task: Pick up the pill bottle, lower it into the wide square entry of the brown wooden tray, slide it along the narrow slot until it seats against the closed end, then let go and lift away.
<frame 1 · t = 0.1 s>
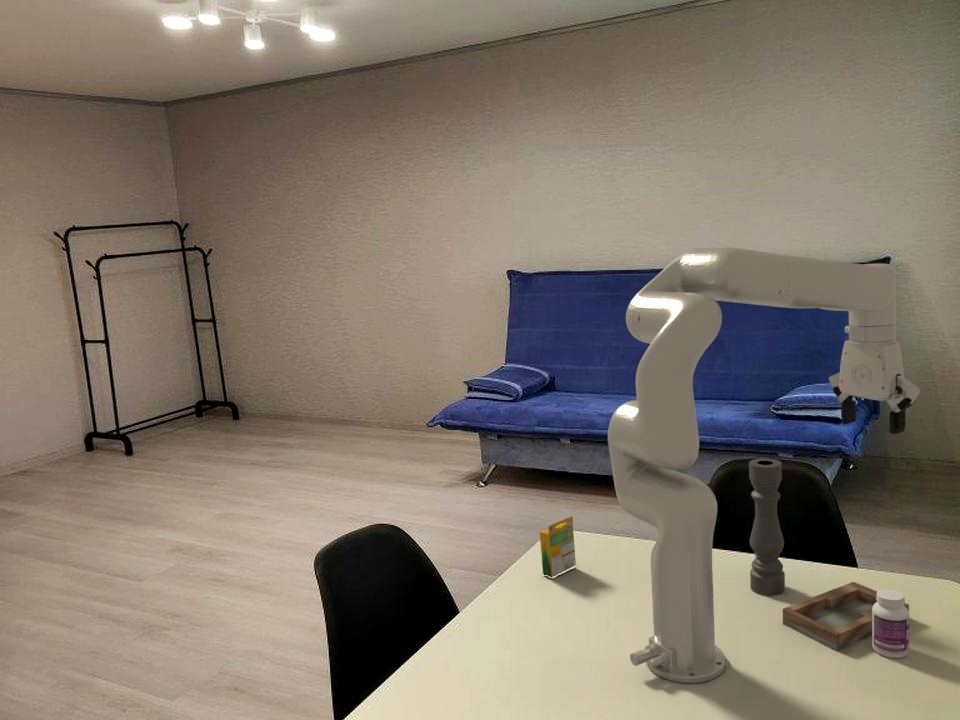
hand: (872, 427, 143), 31 cm above the table, tool pointing down, fingers open, 9 cm apart
pill bottle: (890, 651, 127), on the table
brown wooden tray: (845, 621, 137), on the table
candle holder: (767, 589, 151), on the table
crayon box: (559, 572, 165), on the table
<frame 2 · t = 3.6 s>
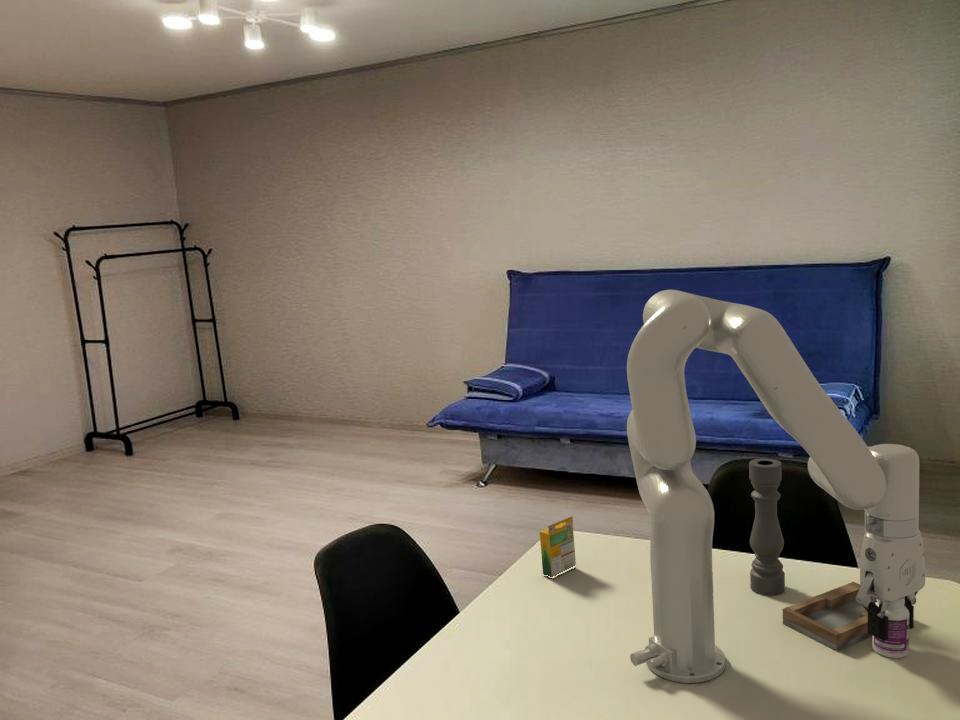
hand: (890, 630, 126), 4 cm above the table, tool pointing down, fingers closed on pill bottle, 5 cm apart
pill bottle: (890, 651, 127), on the table, touching gripper
everything else where it was.
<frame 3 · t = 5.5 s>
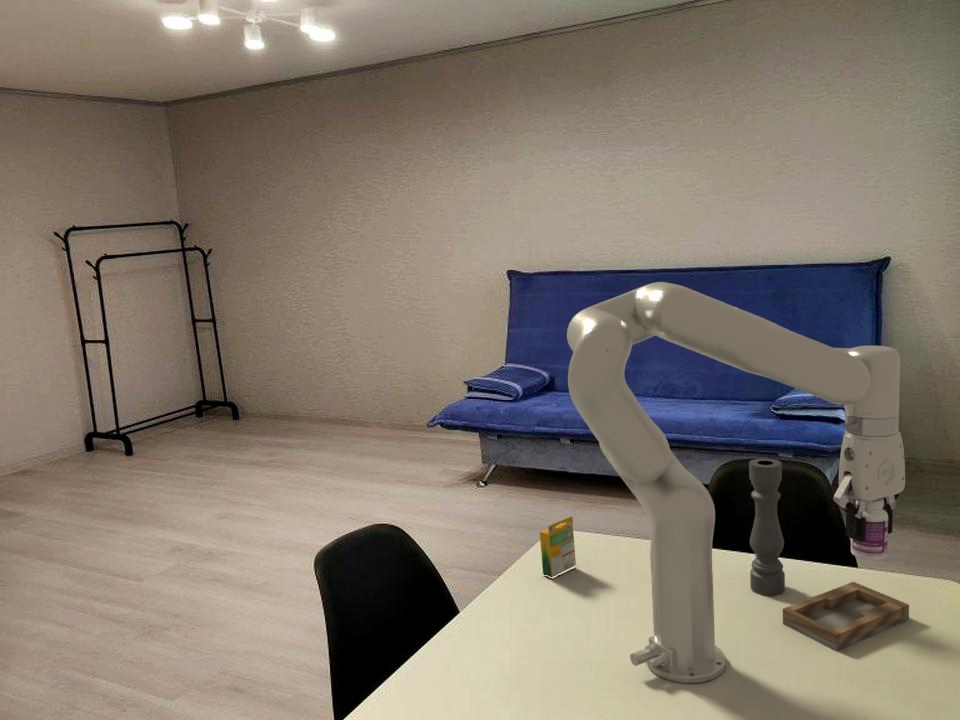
hand: (869, 533, 126), 19 cm above the table, tool pointing down, fingers closed on pill bottle, 5 cm apart
pill bottle: (868, 555, 127), point 15 cm above the table, touching gripper
everything else where it was.
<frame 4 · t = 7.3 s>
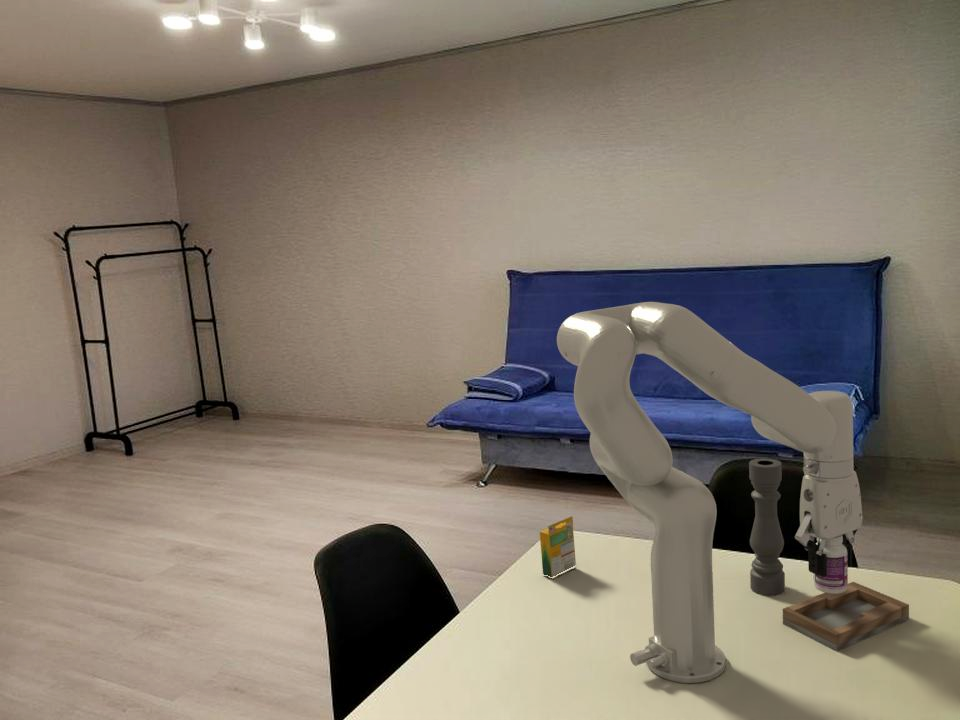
hand: (830, 568, 133), 11 cm above the table, tool pointing down, fingers closed on pill bottle, 5 cm apart
pill bottle: (830, 588, 134), point 7 cm above the table, touching gripper
everything else where it was.
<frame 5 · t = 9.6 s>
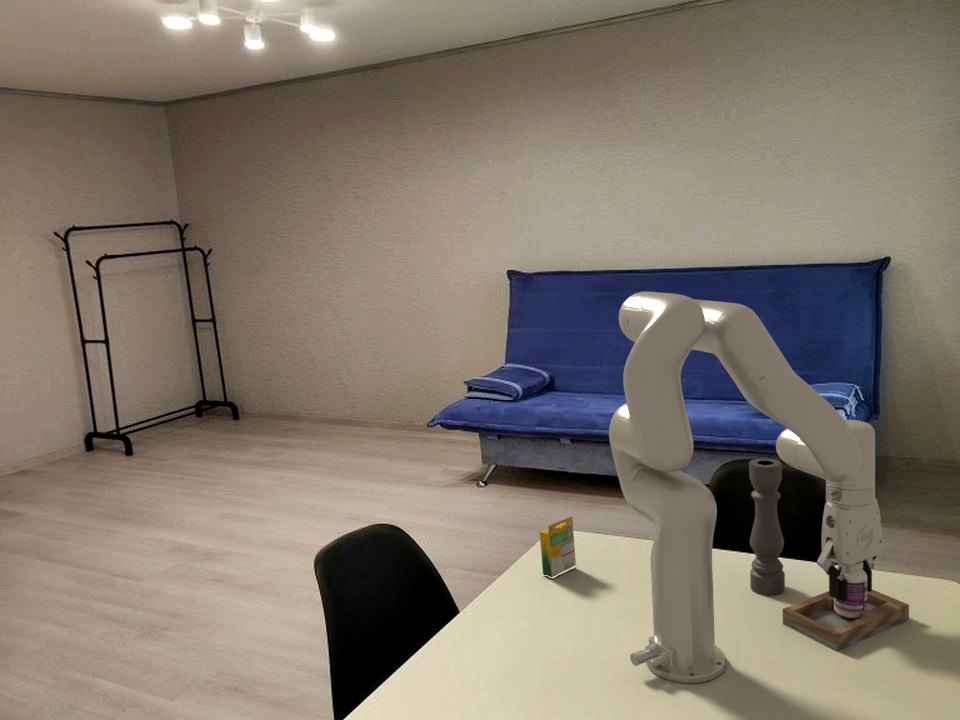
hand: (850, 592, 136), 5 cm above the table, tool pointing down, fingers closed on pill bottle, 5 cm apart
pill bottle: (850, 612, 137), point 1 cm above the table, touching gripper
everything else where it was.
when the fingers open (5 cm above the table, at t = 11.5 s): pill bottle stays where it is, resting on brown wooden tray.
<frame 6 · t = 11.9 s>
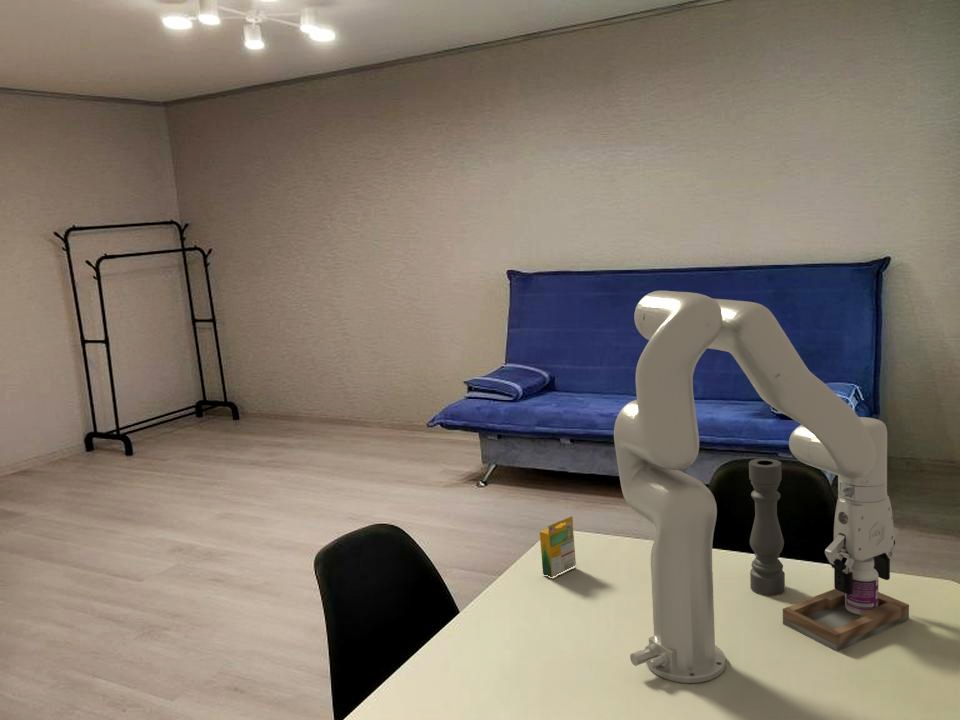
hand: (862, 584, 138), 6 cm above the table, tool pointing down, fingers open, 9 cm apart
pill bottle: (861, 610, 138), point 1 cm above the table, touching brown wooden tray
everything else where it was.
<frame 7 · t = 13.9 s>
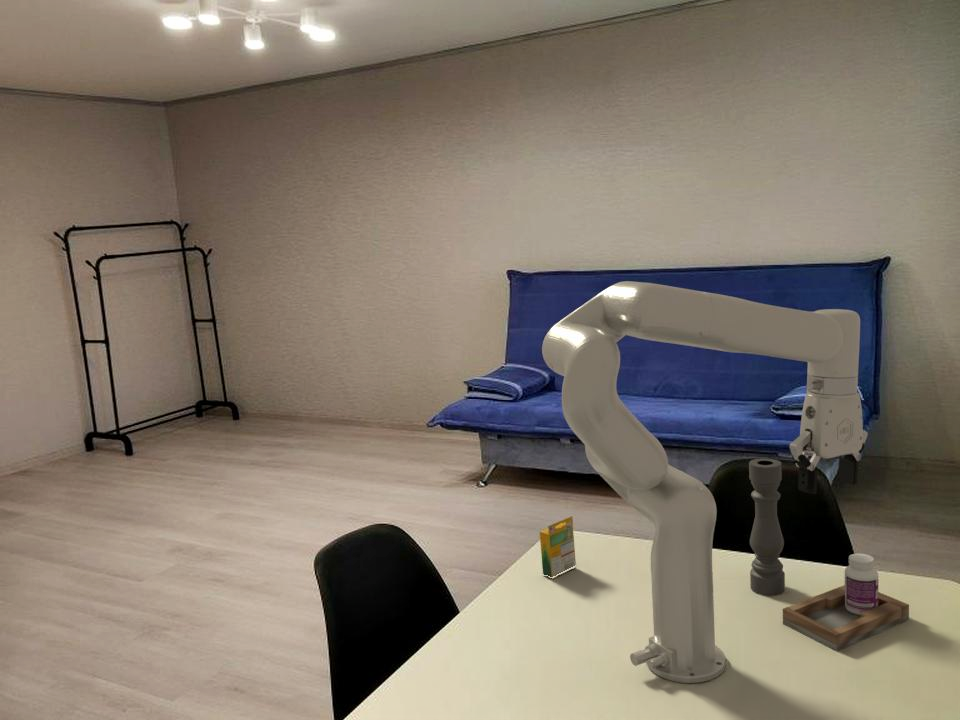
hand: (827, 487, 131), 25 cm above the table, tool pointing down, fingers open, 9 cm apart
nothing on the table moved.
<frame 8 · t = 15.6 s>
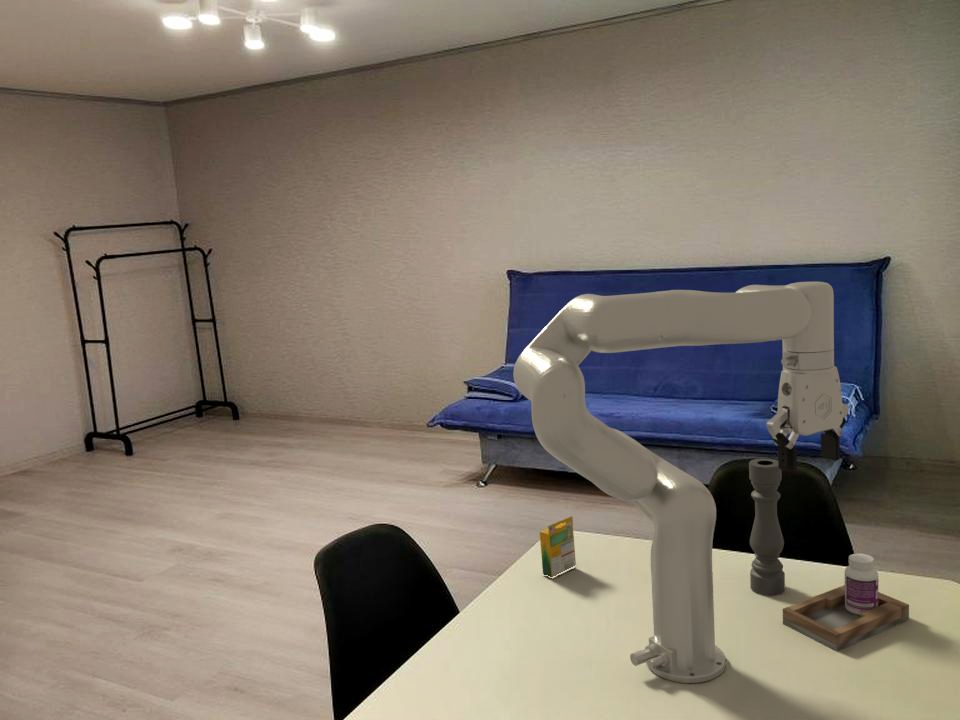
hand: (809, 464, 127), 30 cm above the table, tool pointing down, fingers open, 9 cm apart
nothing on the table moved.
at the end: pill bottle 0.2 cm from the target spot on the brown wooden tray, point 0.8 cm above the brown wooden tray's base; pill bottle tilted 0°; the gripper is holding nothing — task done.
